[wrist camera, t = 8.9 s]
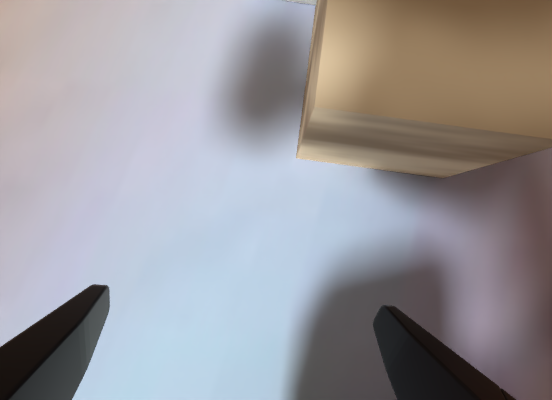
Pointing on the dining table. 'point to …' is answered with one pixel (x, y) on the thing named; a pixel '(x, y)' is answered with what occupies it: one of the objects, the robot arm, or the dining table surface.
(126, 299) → the dining table surface
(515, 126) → the birch block
